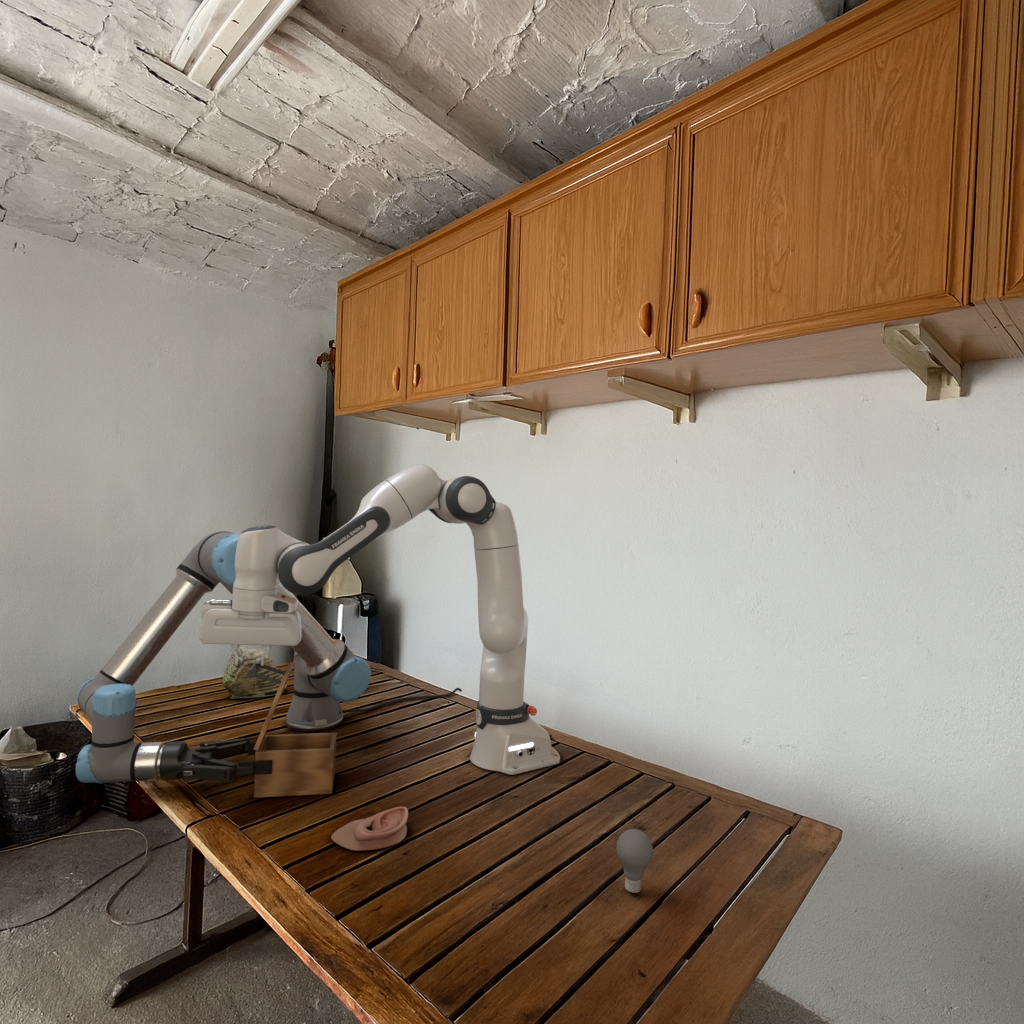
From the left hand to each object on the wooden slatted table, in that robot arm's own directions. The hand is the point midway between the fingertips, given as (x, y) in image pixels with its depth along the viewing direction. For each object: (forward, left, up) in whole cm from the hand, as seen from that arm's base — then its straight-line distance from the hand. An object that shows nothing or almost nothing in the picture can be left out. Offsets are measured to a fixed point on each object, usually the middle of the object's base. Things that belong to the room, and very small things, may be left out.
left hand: (275, 756), depth 137 cm
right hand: (+5, -4, +20) cm, 21 cm away
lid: (0, 0, +11) cm, 11 cm away
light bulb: (-20, +76, -6) cm, 79 cm away
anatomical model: (-1, +31, -6) cm, 32 cm away
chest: (-3, +3, -6) cm, 8 cm away
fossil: (-29, -60, -6) cm, 67 cm away
